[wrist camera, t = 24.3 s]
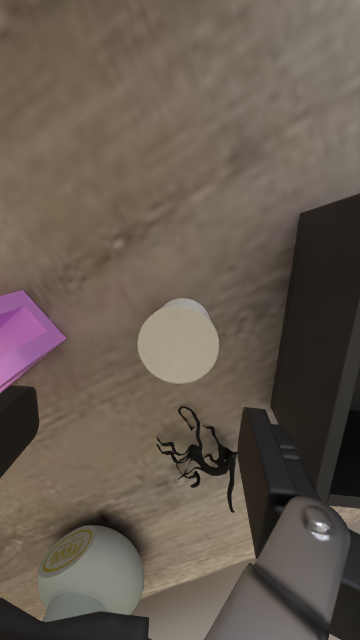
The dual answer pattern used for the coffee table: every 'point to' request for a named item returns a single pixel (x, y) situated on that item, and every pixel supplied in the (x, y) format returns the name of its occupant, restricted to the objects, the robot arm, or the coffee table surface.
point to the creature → (196, 455)
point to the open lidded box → (324, 351)
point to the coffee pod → (179, 342)
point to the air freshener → (90, 574)
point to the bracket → (23, 336)
